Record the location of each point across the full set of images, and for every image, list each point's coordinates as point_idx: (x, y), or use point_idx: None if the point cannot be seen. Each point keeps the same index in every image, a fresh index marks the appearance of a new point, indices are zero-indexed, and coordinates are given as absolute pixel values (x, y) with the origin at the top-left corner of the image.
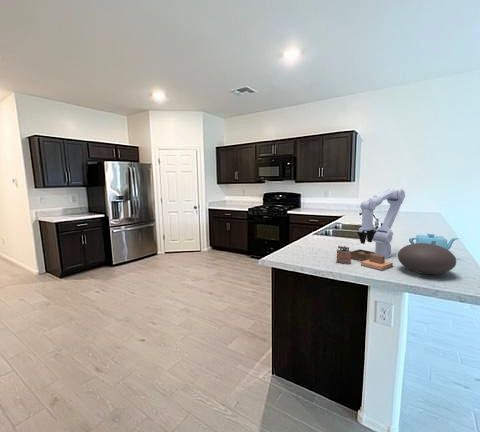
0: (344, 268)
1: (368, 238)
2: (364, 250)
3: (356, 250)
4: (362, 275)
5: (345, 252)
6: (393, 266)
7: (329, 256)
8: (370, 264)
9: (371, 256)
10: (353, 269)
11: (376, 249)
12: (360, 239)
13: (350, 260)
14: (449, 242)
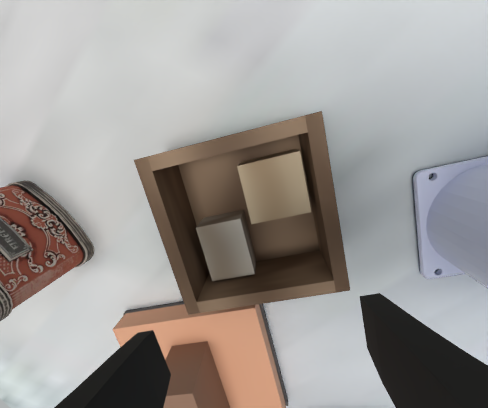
0: None
1: (405, 365)
2: (319, 190)
3: (235, 149)
4: (36, 405)
5: None
6: (287, 403)
7: (37, 3)
8: None
9: None
10: (44, 336)
11: (483, 225)
12: (78, 402)
13: (64, 273)
14: None
